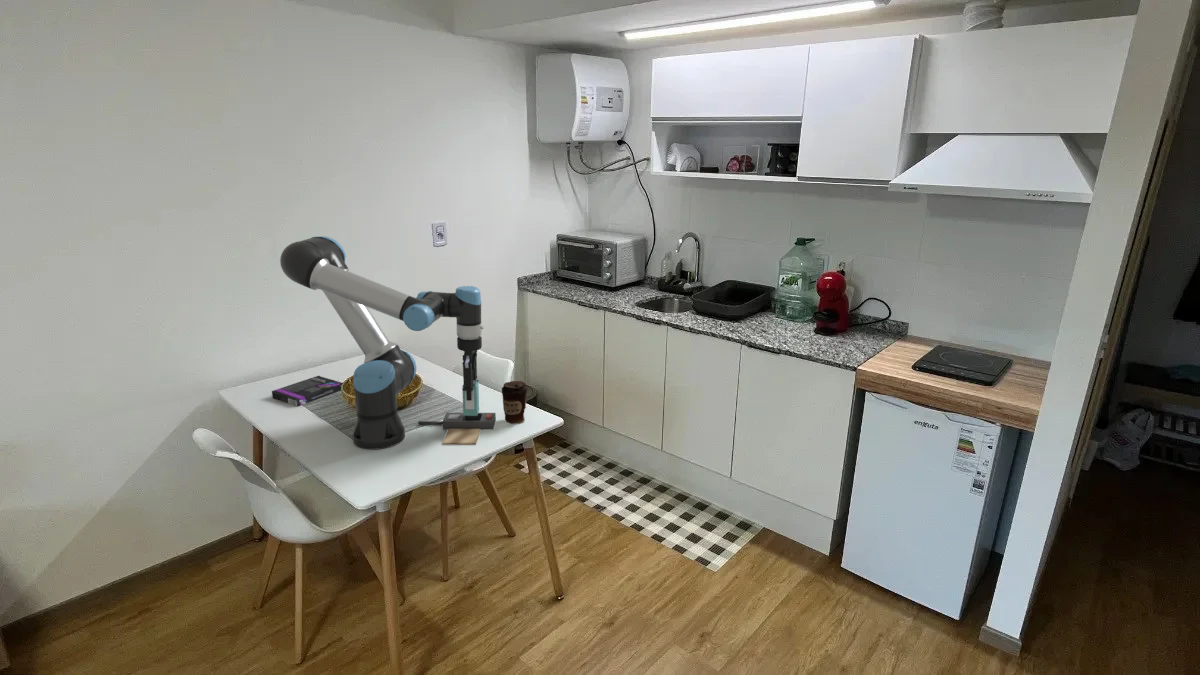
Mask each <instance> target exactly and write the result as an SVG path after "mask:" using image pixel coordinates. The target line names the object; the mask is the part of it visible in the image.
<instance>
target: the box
mask: <svg viewBox="0 0 1200 675" xmlns="http://www.w3.org/2000/svg"><path fill="white" fill-rule="evenodd" d="M343 383H344V382H341V381H338V380H334V379H331V378H327V377H324V376H320V375H316V376H313V377H310V378H307V379H304V380H300V381H298V382H295V383H291V384H289V385H286V386H283V387H280V388H277V389H275V390H271V396H272V399H274V400H275V401H279V402H282V403H285V404H289V405H291V406H294V407H298V408H299V407H300V406H303V405H307V404H308V403H311V402H314V401H316V400H319V399H322V398H324V397H326V396H331V395H332V394H335V393H337V392H340V391H342V390H341V386H342V384H343Z"/></svg>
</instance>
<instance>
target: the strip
mask: <svg viewBox="0 0 1200 675" xmlns="http://www.w3.org/2000/svg"><path fill="white" fill-rule="evenodd" d="M496 414H497V413H496V412H478V415H477V416H463V412H445V415H444V417H443V420H441V421H440V420H439V421H438V420H437V421H436V420H433V421H431V420H426V421H425V420H419V421H418V422H417V425H419V426H442V430H447V431H448V429H480V431H482V430H483V431H486V430H489V431H490V430H491V431H492V430H494V429H495V426H496V425H495V424H496V421H497V420H496V419H497V418H496V417H497V416H496Z"/></svg>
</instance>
